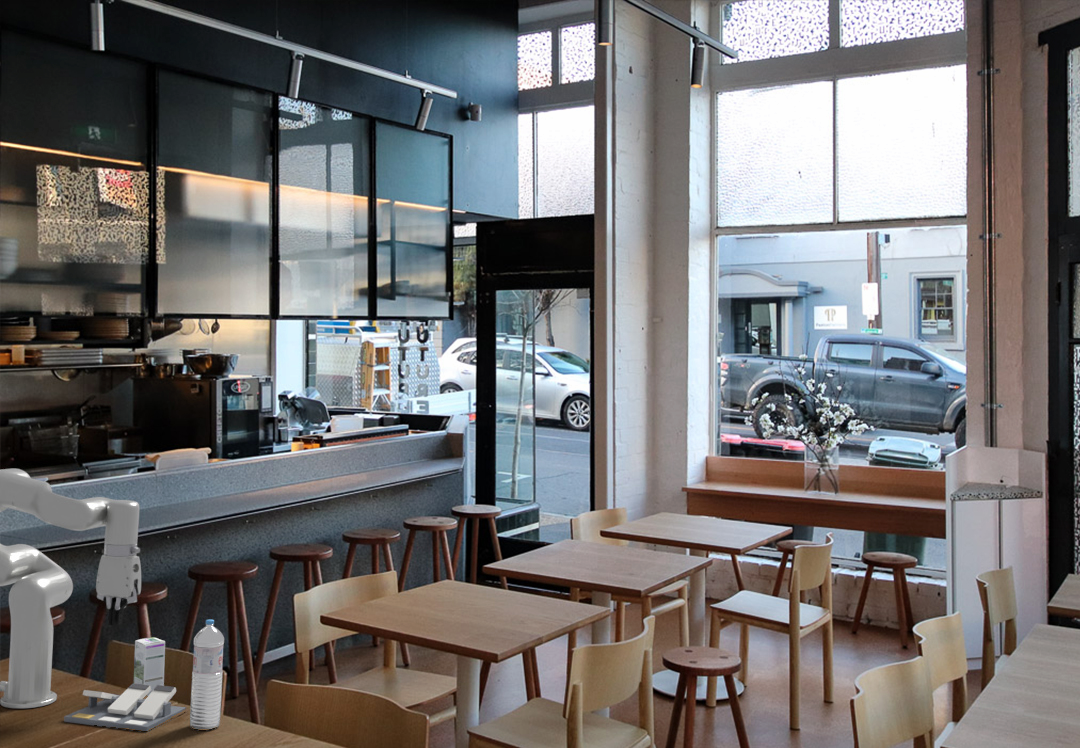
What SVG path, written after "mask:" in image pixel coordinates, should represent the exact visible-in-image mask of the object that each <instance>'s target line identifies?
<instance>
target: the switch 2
mask: <svg viewBox="0 0 1080 748" xmlns="http://www.w3.org/2000/svg"><path fill="white" fill-rule="evenodd" d="M176 692H177V688H176V687H174V686H169V685H164V686H161V685H157V686H156V687H155V688H154V690H153V691H152V692H151V693H150V695H149V696H148V697H147V698H146V699H145V701H144V702H143V703H142V704H141V705H140V707H139V708H138V709H137V710H136V711H135V713H134V716H135V717H136V718H144V719H152V720H154V719H155V717H156V716H157V715H158V714H159V712H160V711H161V710H162V709H163V705H164V704H166V703H168V702H170V700H171V699H172V698H173V696H174V695H175V694H176Z"/></svg>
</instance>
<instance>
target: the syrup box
mask: <svg viewBox="0 0 1080 748" xmlns="http://www.w3.org/2000/svg"><path fill="white" fill-rule="evenodd" d="M165 655H166V641H165V640H162V639H159V638H157V637H156V636H155V637H144V638H140V639H137V640H135V641H134V660H133V662H134V663H133V664H134V665H133V683H132V684H142V685H149V686H151V691H150V692H149V693H148V694H147V696H149V695H150V693H151V692H152V691H153V690H154V688H155V687H156V686H157V685H161V686H165V684H164V683H165V657H166V656H165Z"/></svg>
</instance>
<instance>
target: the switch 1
mask: <svg viewBox="0 0 1080 748" xmlns="http://www.w3.org/2000/svg"><path fill="white" fill-rule="evenodd" d="M121 695H122V694H115V693H108V692H103V691H96V690H88V689H83V692H82V696H85V697H89V696H90V697H95V698H97V699H101V700H104V699H105V700H111V699H112V698H114V697H116V696H121Z"/></svg>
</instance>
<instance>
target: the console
mask: <svg viewBox="0 0 1080 748" xmlns="http://www.w3.org/2000/svg"><path fill="white" fill-rule="evenodd" d="M119 697H120V696H116V697H114V698H112V699H111V700H105V699H101V700H100V701H98V698H95V697H90V696H88V705H87V706H86V707H84V708H81V709H78V710H77V711H74V712H72V713H71V712H70V714H67V715H64V718H63V719H64V720H63V721H64V722H65V723H72V724H73V723H74V724H80V725H86V726H87V725H88V726H94V725H97V726H96V727H102V726H106V727H105V728H110V727H116V728H115V729H118V728H129V729H135V730H142V731H148V730H149V729H151V728H154V727H155V726H157V725H159V724H161V723H163V722H165V721H166V720H168V719H170V718H171V717H172V716H174V715H176V714H178V713H180V712H182V711H183V710H185V709H186V710H187V707H186V706H176V705H172V702H171V701H168V702H167V703H166V704H164V705H163V709H162V710H161V711H160V712H159V714H158V715H157V716H156V717H155V719H154V720H152V719H144V718H136V717H135V716H134V713H135V711H136V710H137V709H138V708H139V707H140V705H141V704H142V703H143V702H144V701H145V699H142V700H140V701H137V705H136V706H135V707H134V708H133V709H132V710H131V711H130V712H129V713H128V714H127V715H123V714H115V713H108V707H109V706H110V705H112V704H113V703H114V702H115V701H116V700H117V699H118V698H119ZM154 729H155V728H154ZM148 732H149V731H148Z"/></svg>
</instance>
